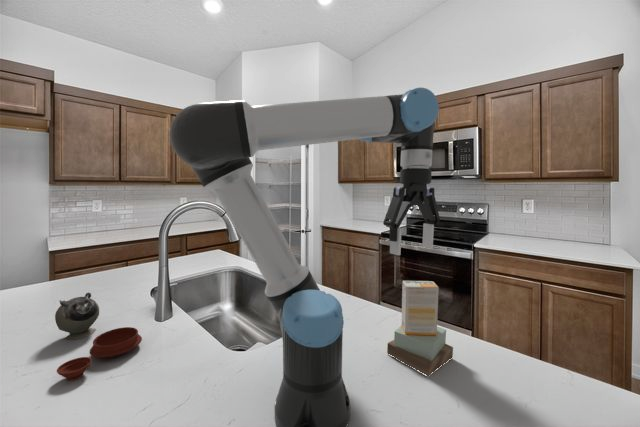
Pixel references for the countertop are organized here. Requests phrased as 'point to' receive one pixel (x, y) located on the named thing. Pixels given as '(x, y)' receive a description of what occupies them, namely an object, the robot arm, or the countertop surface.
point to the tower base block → (421, 358)
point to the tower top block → (421, 343)
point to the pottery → (102, 350)
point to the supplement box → (419, 307)
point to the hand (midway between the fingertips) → (412, 250)
